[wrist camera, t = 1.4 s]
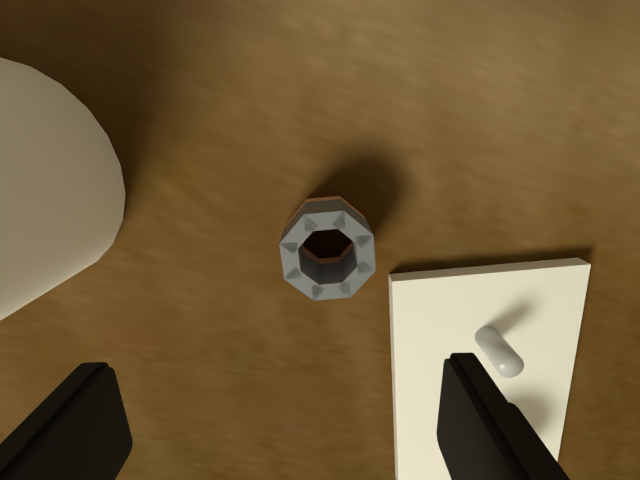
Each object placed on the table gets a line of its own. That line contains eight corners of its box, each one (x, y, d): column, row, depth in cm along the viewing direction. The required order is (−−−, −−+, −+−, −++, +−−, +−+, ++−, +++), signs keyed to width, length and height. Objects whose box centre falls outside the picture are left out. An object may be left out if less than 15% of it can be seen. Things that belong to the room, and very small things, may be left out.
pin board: (577, 257, 29) (647, 293, 23) (545, 465, 37) (591, 534, 30) (388, 274, 29) (407, 313, 23) (395, 475, 37) (410, 546, 31)
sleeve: (363, 193, 27) (372, 207, 22) (367, 267, 29) (376, 295, 24) (282, 200, 27) (275, 216, 23) (292, 274, 29) (287, 302, 25)
